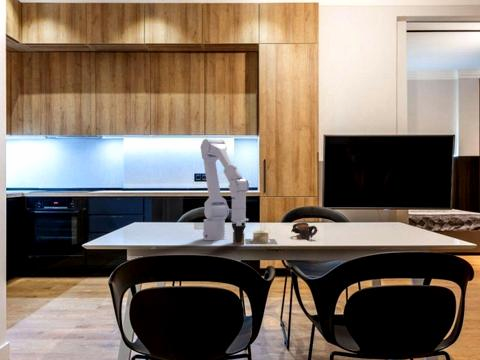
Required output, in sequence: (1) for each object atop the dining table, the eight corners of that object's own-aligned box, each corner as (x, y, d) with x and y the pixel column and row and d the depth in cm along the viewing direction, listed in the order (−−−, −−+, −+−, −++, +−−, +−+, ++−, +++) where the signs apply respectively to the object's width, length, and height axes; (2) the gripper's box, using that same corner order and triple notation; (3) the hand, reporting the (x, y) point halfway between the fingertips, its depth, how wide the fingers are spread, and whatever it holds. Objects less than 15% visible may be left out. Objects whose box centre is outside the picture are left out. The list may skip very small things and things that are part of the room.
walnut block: (232, 245, 168) (233, 233, 168) (232, 243, 172) (233, 231, 172) (244, 245, 168) (244, 233, 168) (243, 243, 172) (243, 231, 172)
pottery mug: (290, 240, 183) (288, 223, 187) (296, 247, 191) (294, 230, 195) (316, 235, 179) (314, 218, 183) (322, 242, 187) (319, 225, 191)
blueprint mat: (245, 245, 169) (245, 243, 169) (244, 240, 182) (244, 238, 182) (277, 245, 169) (277, 244, 169) (274, 240, 182) (274, 238, 182)
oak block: (253, 242, 173) (254, 232, 173) (253, 239, 179) (253, 230, 179) (268, 242, 173) (268, 232, 173) (267, 239, 179) (267, 230, 179)
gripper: (249, 209, 162) (248, 244, 163) (247, 206, 177) (247, 238, 177) (231, 209, 162) (230, 244, 163) (231, 206, 177) (231, 238, 177)
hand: (238, 241), depth 170 cm, fingers closed on walnut block, 4 cm apart
